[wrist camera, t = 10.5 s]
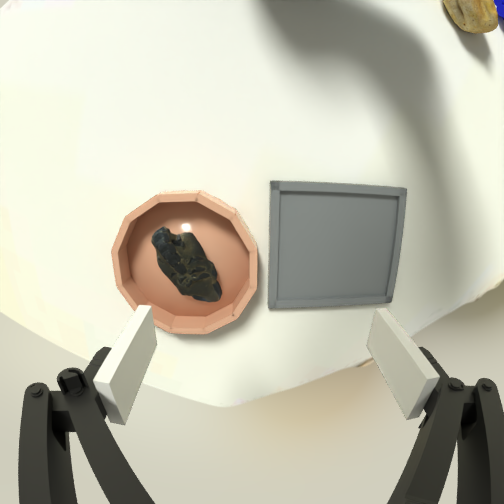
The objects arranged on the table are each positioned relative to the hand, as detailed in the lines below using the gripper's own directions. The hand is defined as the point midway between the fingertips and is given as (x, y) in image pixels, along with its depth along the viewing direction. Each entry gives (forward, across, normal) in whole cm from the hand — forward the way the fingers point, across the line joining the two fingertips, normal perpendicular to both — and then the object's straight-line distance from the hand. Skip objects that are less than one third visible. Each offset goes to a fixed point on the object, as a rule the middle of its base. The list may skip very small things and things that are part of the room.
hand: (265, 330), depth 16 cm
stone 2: (+27, +37, +45) cm, 64 cm away
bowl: (+26, -10, -5) cm, 28 cm away
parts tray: (+26, +12, -3) cm, 29 cm away
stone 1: (+26, -9, -6) cm, 28 cm away
